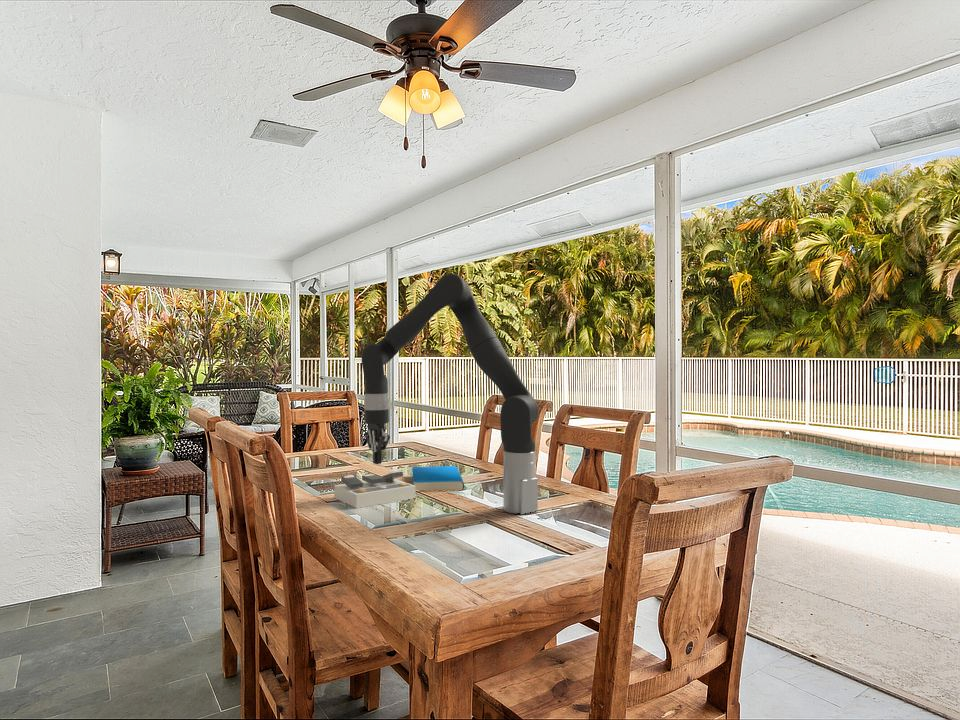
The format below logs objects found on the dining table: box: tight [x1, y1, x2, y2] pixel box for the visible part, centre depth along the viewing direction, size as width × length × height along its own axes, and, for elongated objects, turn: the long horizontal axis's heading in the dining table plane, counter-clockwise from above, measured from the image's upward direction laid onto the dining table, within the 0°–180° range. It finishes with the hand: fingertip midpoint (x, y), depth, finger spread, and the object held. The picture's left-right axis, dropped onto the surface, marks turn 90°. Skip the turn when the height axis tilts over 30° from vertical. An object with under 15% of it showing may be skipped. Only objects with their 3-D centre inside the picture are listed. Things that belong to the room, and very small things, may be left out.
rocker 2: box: [361, 473, 384, 484], centre depth 188 cm, size 7×4×2 cm, turn 37°
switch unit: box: [333, 478, 417, 509], centre depth 187 cm, size 16×20×4 cm
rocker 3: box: [381, 471, 404, 481], centre depth 192 cm, size 7×4×2 cm, turn 37°
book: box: [411, 465, 465, 492], centre depth 210 cm, size 17×4×25 cm
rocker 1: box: [341, 474, 363, 489], centre depth 184 cm, size 7×4×2 cm, turn 37°
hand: (377, 463), depth 185 cm, fingers closed
